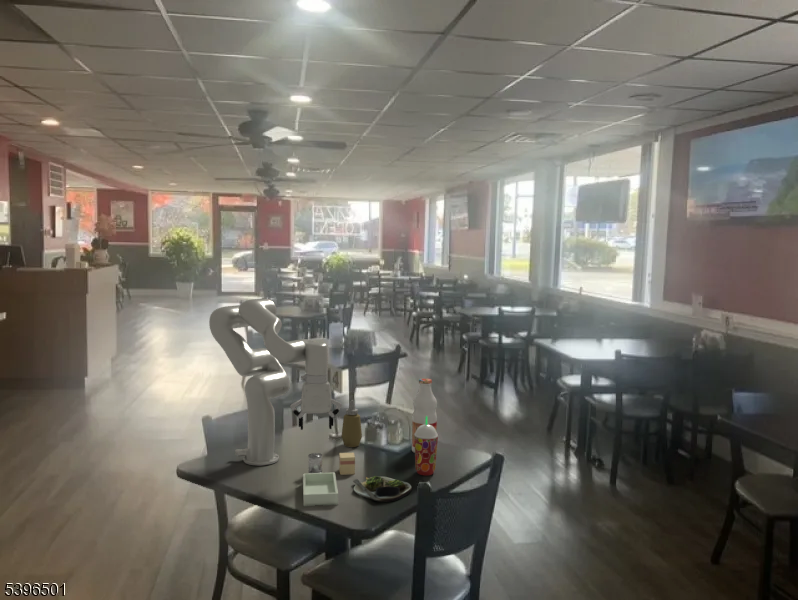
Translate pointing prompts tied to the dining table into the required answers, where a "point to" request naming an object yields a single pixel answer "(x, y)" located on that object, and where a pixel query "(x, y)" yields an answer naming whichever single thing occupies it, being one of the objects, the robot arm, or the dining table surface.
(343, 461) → the cardboard box
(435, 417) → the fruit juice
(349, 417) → the squeeze bottle
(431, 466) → the smoothie
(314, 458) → the steel can
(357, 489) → the salad plate
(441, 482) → the dining table surface
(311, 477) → the tote
